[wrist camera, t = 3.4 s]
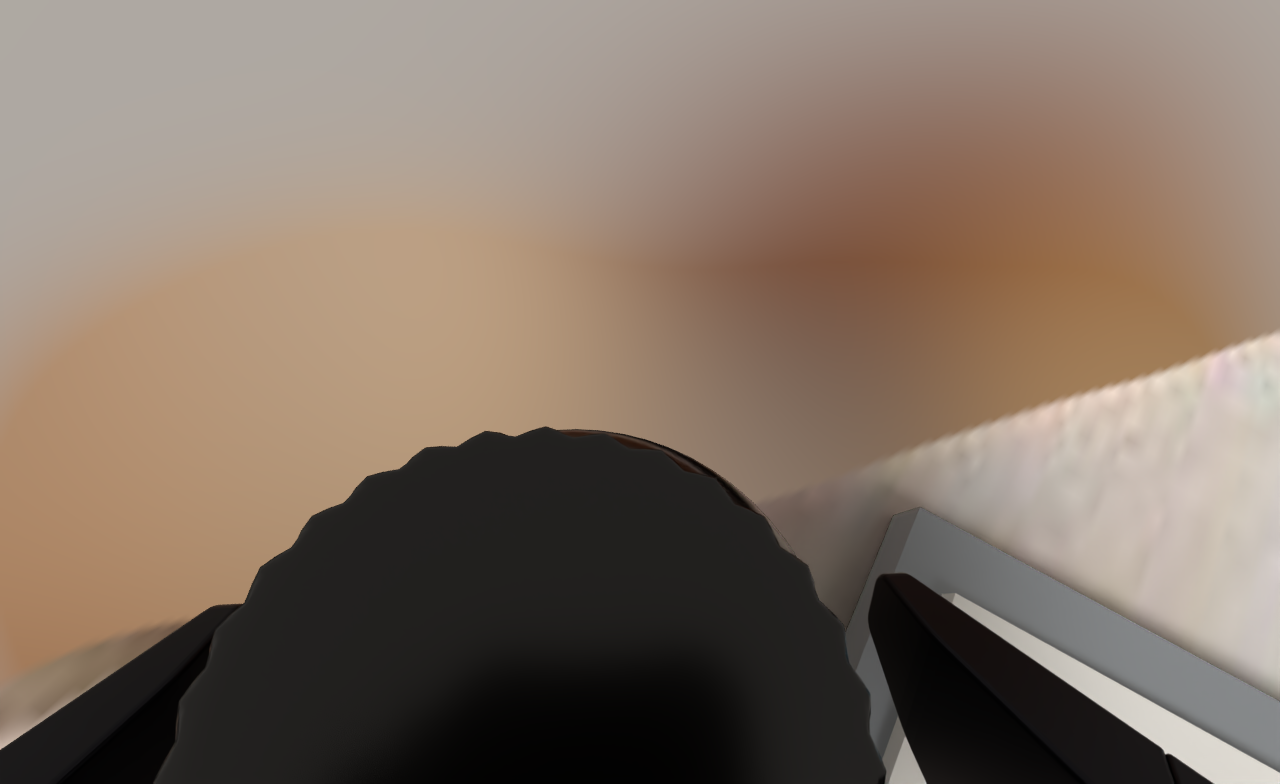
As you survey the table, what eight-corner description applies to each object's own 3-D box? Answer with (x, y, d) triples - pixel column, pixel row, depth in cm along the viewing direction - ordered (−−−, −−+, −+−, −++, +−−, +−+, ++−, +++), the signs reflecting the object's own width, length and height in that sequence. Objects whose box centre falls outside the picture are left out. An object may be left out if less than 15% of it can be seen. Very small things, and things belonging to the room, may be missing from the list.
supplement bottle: (636, 466, 17) (704, 176, 6) (779, 700, 15) (1311, 983, 4) (402, 602, 15) (-164, 588, 4) (530, 881, 14) (159, 2265, 2)
